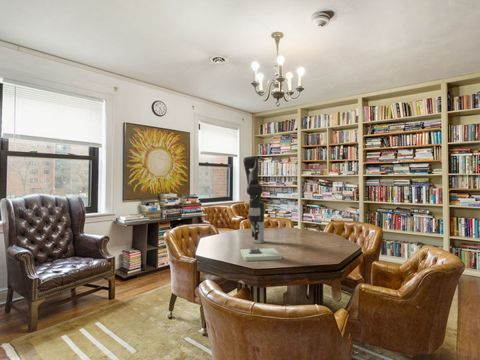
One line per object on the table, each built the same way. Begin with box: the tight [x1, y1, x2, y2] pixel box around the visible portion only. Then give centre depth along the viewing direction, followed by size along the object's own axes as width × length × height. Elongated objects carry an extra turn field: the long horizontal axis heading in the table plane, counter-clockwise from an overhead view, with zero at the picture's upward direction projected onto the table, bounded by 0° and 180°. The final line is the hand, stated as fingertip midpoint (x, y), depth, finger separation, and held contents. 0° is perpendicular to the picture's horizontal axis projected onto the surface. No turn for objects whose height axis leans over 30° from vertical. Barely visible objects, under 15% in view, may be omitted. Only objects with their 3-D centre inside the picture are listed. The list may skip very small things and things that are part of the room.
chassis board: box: [240, 247, 283, 262], centre depth 189 cm, size 20×24×3 cm
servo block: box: [248, 247, 262, 254], centre depth 189 cm, size 4×9×6 cm, turn 98°
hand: (254, 238), depth 189 cm, fingers open, 8 cm apart
